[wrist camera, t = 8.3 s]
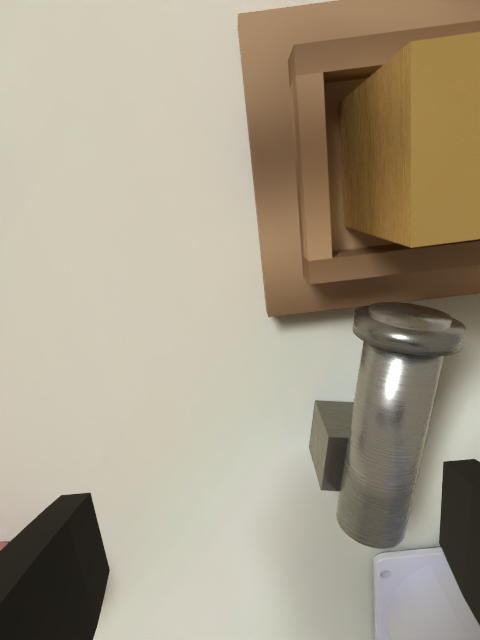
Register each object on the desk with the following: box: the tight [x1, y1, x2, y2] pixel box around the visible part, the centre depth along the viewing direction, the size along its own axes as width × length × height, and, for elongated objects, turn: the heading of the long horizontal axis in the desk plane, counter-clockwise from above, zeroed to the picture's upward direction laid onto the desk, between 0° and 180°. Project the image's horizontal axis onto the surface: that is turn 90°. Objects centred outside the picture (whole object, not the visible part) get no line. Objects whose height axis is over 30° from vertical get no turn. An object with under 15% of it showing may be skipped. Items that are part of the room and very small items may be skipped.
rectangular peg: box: [338, 32, 480, 248], centre depth 11 cm, size 4×4×6 cm
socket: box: [238, 0, 480, 317], centre depth 14 cm, size 10×10×2 cm
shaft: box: [309, 302, 466, 549], centre depth 15 cm, size 8×3×6 cm, turn 177°
